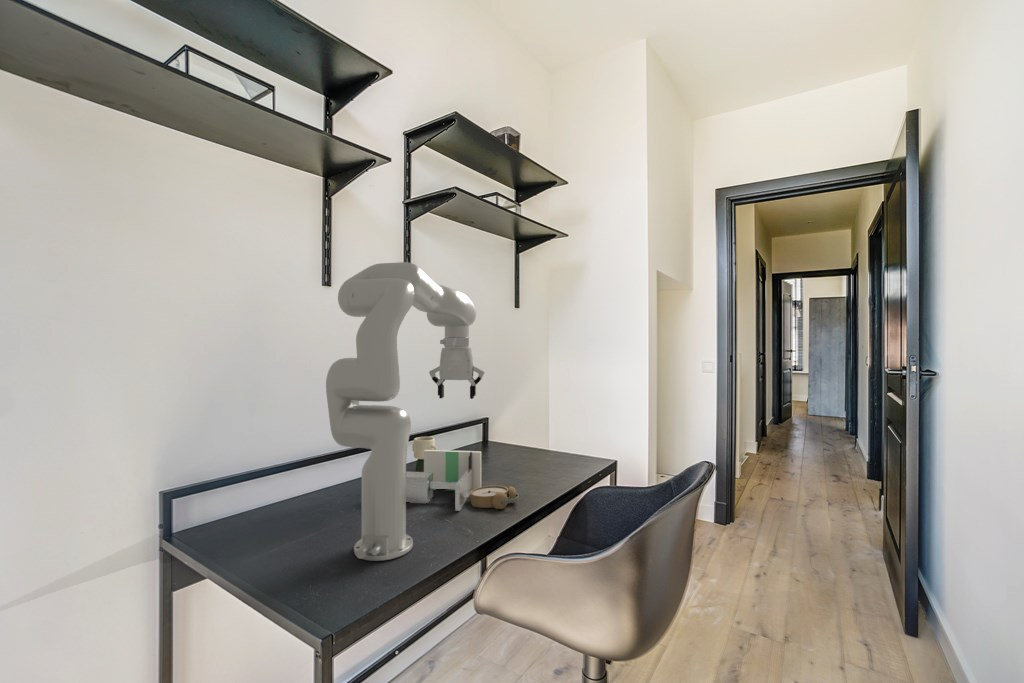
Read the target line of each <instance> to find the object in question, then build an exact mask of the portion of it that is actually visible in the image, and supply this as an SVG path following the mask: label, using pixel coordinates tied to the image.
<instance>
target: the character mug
mask: <svg viewBox="0 0 1024 683" xmlns="http://www.w3.org/2000/svg"><path fill="white" fill-rule="evenodd" d="M435 441H436V439H435V437H433V436H419V437H415V438H413V442H412V443H411V444H412V447H411V450H412V452H413V457H414V458H415V459H417V460H416V463H415V470H414V472H424V450H438V449H437V448H438V447H437V446H436V442H435Z"/></svg>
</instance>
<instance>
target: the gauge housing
mask: <svg viewBox="0 0 1024 683" xmlns="http://www.w3.org/2000/svg"><path fill="white" fill-rule="evenodd" d="M429 481H433V472H415V471H406V502H410V503H409V504H426V503H427V504H429V502H430V501H431V500H432V499H433V498H432V497H434V489H433V488H429ZM431 498H432V499H431ZM430 499H431V500H430Z"/></svg>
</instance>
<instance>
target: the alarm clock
mask: <svg viewBox="0 0 1024 683" xmlns="http://www.w3.org/2000/svg"><path fill="white" fill-rule="evenodd" d="M466 498H467V500H470V505H471V504H472V505H471V506H473V507H476V508H483V509H485V508H487V509H488V508H493V509H495V510H498V509H501V510H503V509H505V508H506V507H507V505H508V504H510V503H512V504H514V503H516V502H518V501H519V500H520V494H519V493H518V492H517V490H516V488H515V487H514V486H509V488H508V487H507V486H503V485H486V486H481V487H479V488H476V489H473V490H472V491H471V492H470V495H469V497H466Z"/></svg>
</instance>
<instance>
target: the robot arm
mask: <svg viewBox="0 0 1024 683" xmlns="http://www.w3.org/2000/svg"><path fill="white" fill-rule="evenodd" d="M337 301H338V305H339V308H340V310H341V311H342V312H343V313H344V314H345V315H347V316H349V317H353V318H354V317H355V318H356V317H357V318H363V317H364V319H363V321H361V324H360V325H359V327H358V330H357V333H356V337H355V344H356V345H355V346H356V357H344V358H339V359H338V360H336V361H334V362H333V363H332V365H331V366H330V367H329V369H328V371H327V375H326V380H325V393H326V401H327V409H328V418H329V427H330V431H331V437H332V438H333V440H334V442H335V443H336V444H337V445H339V446H341V447H346V448H357V449H367V450H371V453H370V455H369V456H368V457H367V459H366V460H365V462H364V463H363V467H362V469H361V538H360V539H359V540H358V541H357V542H356V543H355V544H354V546H353V552H354V555H355V556H356V557H357V559H361V560H365V561H370V562H372V561H373V562H381V561H382V562H383V561H388V560H393V559H397V558H400V557H402V556H404V555H406V554H407V553H409V552H410V551H411V550H412V548H413V546H414V540H413V537H411V536H410V535H409V534H407V532H406V531H407V528H406V527H407V503H406V472H407V455H408V453H407V452H408V447H409V446H408V445H409V440H410V435H411V428H412V423H411V422H412V421H411V417H410V416H409V414H408V413H407V412H406V410H404V409H403V408H400V407H396V406H394V405H393V406H392V405H380V404H378V405H376V404H374V405H373V404H372V405H371V404H370V405H369V404H367V405H366V404H365V405H364V404H360V402H388V401H392V400H394V399H395V398H396V397H397V396H398V395H399V392H400V389H401V388H400V386H401V381H400V380H401V378H400V366H399V364H400V363H399V354H398V334H399V329H400V327H401V325H402V323H403V321H404V319H405V317H406V316H407V314H408V313H409V311H410V310H411V308H412V307H414V308H415V309H416V310H418V311H420V312H423V313H426V318H427V320H428V322H429V323H430V324H431V325H432V326H434V327H443V328H444V337H443V339H440V340H439V343H440V344H441V345H443V346H444V347H442V348H441V352H440V358H439V366H437V367H435V368H433V369H431V370H429V371H428V373H429V376H430V378H431V379H432V381H433V382H434V383H435V384H436V386H437V396H439V399H444V397H445V385H444V382H445V381H468V382H469V383H470V386H469V399H470V400H472V399H474V397H475V396H476V395H477V394H476V393H477V392H476V391H477V389H476V388H477V385H478V383H480V381H481V380H482V378H483V377H484V375H485V371H484V370H482V369H481V368H478V367H477V366H474V361H473V359H474V358H473V353H472V348H471V347H470V339H469V338H470V332H469V331H470V326H472V324H474V323H475V320H476V316H477V311H476V307H475V305H474V303H473V301H472V300H471V299H470V297H468V296H467V295H466V294H465V293H463V292H461V291H459V290H456V289H454V288H450V287H447V286H445V285H443V284H439V283H436V282H435V281H434V280H433V279H432V278H431V277H429V275H427V273H426V272H425V271H424V270H423V269H421V268H420V266H418V265H416V264H415V263H411V262H406V261H405V262H403V261H402V262H401V261H400V262H382V263H381V262H380V263H375V264H373V265H369V266H368V267H365V268H364V269H362V270H360V271H359V272H358V273H356V274H354V275H353V276H351V277H349V278H348V279H347V280H345V281H344V282H342V285H341V286H340V288H339V290H338V293H337ZM474 372H476V373H477V374H478V375H477V377H476V378H475V379H474ZM436 373H439V374H438V375H439V378H438V377H437V375H436Z"/></svg>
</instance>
